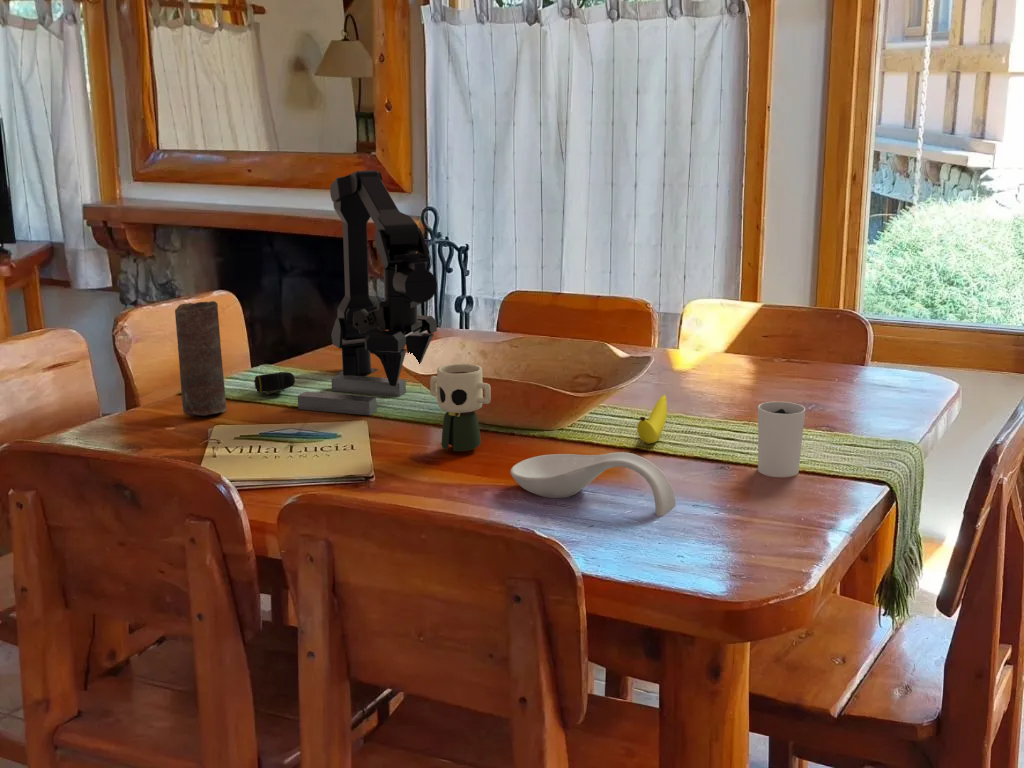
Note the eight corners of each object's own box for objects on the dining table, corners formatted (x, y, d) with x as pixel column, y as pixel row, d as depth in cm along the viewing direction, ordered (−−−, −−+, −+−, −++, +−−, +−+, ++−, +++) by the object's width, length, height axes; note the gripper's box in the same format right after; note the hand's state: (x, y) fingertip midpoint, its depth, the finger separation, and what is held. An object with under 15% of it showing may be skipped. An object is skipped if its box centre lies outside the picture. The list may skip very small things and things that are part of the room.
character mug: (419, 449, 171) (417, 369, 167) (444, 437, 176) (442, 360, 173) (479, 460, 165) (477, 377, 162) (502, 447, 171) (501, 367, 168)
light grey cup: (746, 468, 160) (749, 403, 158) (786, 464, 162) (789, 399, 160) (769, 483, 154) (773, 416, 152) (810, 478, 156) (814, 411, 153)
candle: (219, 421, 187) (210, 307, 182) (177, 421, 187) (167, 307, 182) (231, 409, 194) (223, 299, 189) (191, 409, 194) (181, 299, 189)
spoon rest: (495, 497, 151) (494, 447, 149) (537, 472, 160) (537, 426, 159) (651, 529, 139) (653, 476, 137) (687, 501, 148) (689, 451, 147)
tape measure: (297, 389, 202) (294, 369, 202) (261, 395, 199) (257, 375, 199) (288, 390, 208) (285, 370, 208) (253, 396, 205) (249, 376, 205)
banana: (672, 423, 183) (673, 387, 182) (651, 457, 166) (652, 418, 164) (655, 422, 184) (656, 386, 182) (632, 456, 167) (633, 416, 165)
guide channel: (339, 387, 208) (338, 374, 208) (406, 392, 204) (405, 379, 204) (298, 409, 194) (297, 395, 193) (369, 415, 189) (369, 401, 189)
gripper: (381, 283, 202) (384, 364, 206) (335, 300, 185) (339, 389, 189) (436, 286, 198) (439, 368, 202) (395, 304, 181) (398, 394, 185)
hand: (403, 379), depth 195 cm, fingers open, 9 cm apart
